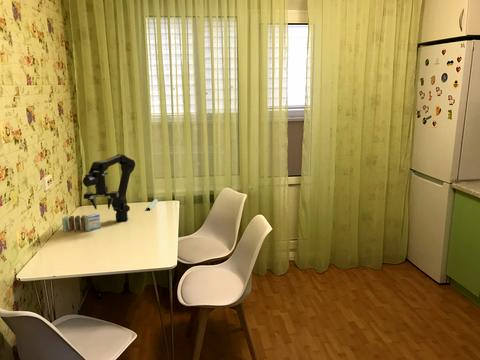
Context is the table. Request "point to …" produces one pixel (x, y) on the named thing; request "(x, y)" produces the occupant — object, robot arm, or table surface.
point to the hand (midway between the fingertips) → (102, 209)
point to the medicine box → (92, 222)
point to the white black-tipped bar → (152, 204)
